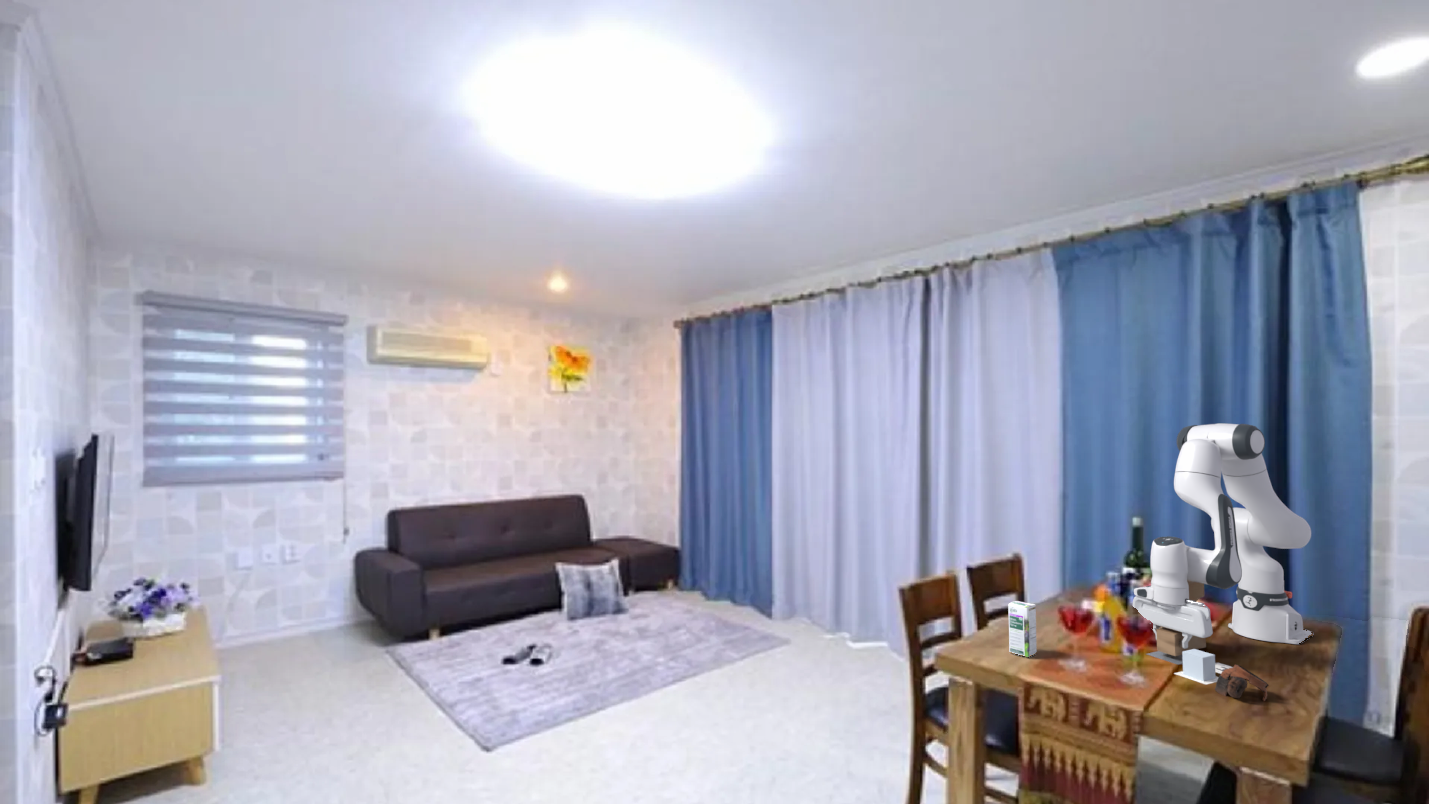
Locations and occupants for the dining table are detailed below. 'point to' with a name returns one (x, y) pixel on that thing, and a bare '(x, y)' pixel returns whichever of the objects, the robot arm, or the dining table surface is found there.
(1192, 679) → the code tile
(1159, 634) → the walnut block
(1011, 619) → the syrup box
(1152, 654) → the slate coaster
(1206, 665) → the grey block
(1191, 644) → the decorative block
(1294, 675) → the dining table surface
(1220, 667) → the code tile
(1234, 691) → the camera in leather case
